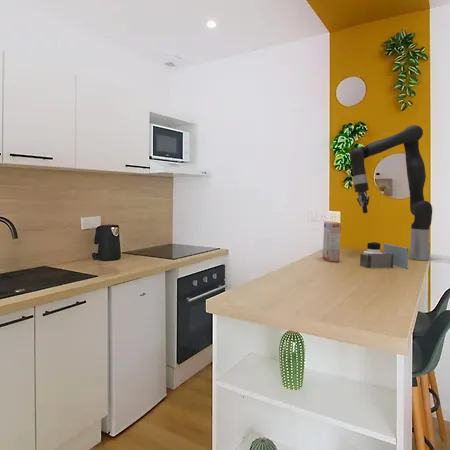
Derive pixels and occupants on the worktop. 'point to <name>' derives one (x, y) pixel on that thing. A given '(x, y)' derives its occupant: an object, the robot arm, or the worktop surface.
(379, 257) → the keeper
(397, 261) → the door board
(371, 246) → the medicine bottle
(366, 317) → the worktop surface
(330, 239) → the cracker box
